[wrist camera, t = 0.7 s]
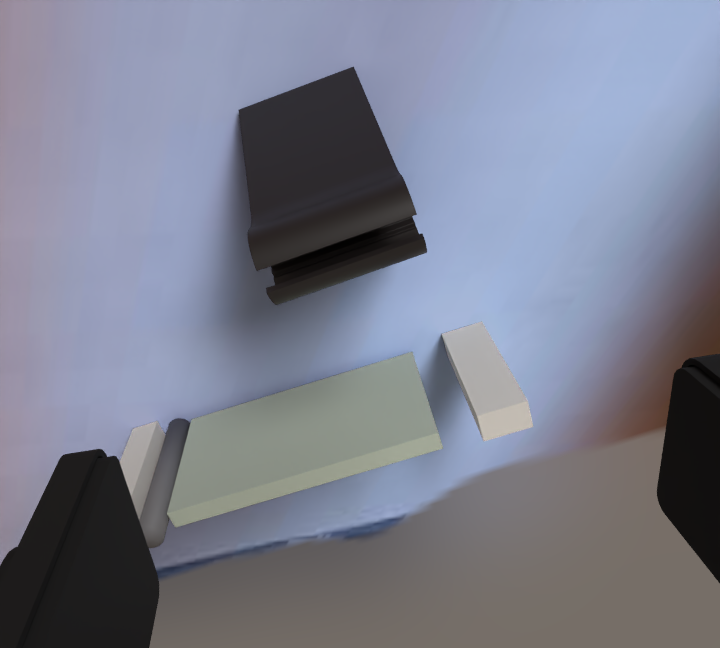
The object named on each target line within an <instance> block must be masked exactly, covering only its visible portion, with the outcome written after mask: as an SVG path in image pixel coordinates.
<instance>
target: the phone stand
mask: <svg viewBox="0 0 720 648" xmlns="http://www.w3.org/2000/svg"><path fill="white" fill-rule="evenodd" d="M239 117H240V126H241V134H242V142H243V151H244V159H245V167H246V176H247V184H248V192H249V201H250V209H251V227H250V229H249V230H248V243H249V248H250V252H251V255H252V259H253V262H254V265H255V268H256V270H257V271H258V270H261V269H264V268H267V267H270V266H271V268H272V274H273V276H274V282H275V285H274V286H271V287H268V288H266V290H267V294H268V296H269V298H270V299H271V301H272V302H273V303H274V304H275V305H278V304H281V303H284V302H287V301H290V300H293V299H295V298H298V297H301V296H304V295H307V294H310V293H313V292H316V291H318V290H321V289H324V288H327V287H330V286H333V285H336V284H338V283H341V282H344V281H347V280H350V279H353V278H356V277H358V276H361V275H364V274H367V273H370V272H373V271H376V270H379V269H381V268H384V267H387V266H390V265H393V264H396V263H399V262H401V261H404V260H407V259H410V258H413V257H416V256H419V255H421V254H424V253H427V248H426V244H425V240H424V237H423V234H419V233H418V230H417V228H416V226H415V222H414V220H413V218H412V216H414V215H416V211H415V208H414V205H413V202H412V199H411V196H410V194H409V191H408V189H407V186H406V184H405V181H404V179H403V177H402V175H401V174H400V173H399V171H398V170H397V167H396V165H395V163H394V161H393V158H392V156H391V154H390V151H389V149H388V147H387V144H386V142H385V139H384V137H383V135H382V132H381V130H380V128H379V125H378V123H377V121H376V118H375V116H374V114H373V111H372V109H371V107H370V104H369V102H368V99H367V97H366V95H365V92H364V90H363V88H362V85H361V83H360V81H359V78H358V76H357V74H356V71H355V69H354V67H351V68H349V69H346V70H343V71H341V72H338V73H335V74H333V75H330V76H327V77H325V78H322V79H319V80H317V81H314V82H311V83H309V84H306V85H304V86H301V87H298V88H296V89H293V90H290V91H288V92H285V93H282V94H280V95H277V96H274V97H272V98H269V99H266V100H264V101H261V102H258V103H256V104H253V105H250V106H248V107H245V108H242V109H240V110H239Z"/></svg>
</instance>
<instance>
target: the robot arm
mask: <svg viewBox="0 0 720 648" xmlns="http://www.w3.org/2000/svg"><path fill="white" fill-rule="evenodd" d="M657 497H658V501H659V504H660V506H661V509H662V510H663V512H664V513H665V515H666V516H667V517H668V519H669V520H670V521H671V522H672V524H673V525H674V526H675V527H676V528H677V530H678V531H679V532H680V534H681V535H682V536H683V537H684V539H685V540H686V541H687V543H688V544H689V545H690V546H691V548H692V549H693V550H694V551H695V553H696V554H697V555H698V556H699V557H700V559H701V560H702V561H703V563H704V564H705V565H706V566H707V568H708V569H709V570H710V571H711V573H712V574H713V575H714V577H715V578H716V579H717V580H718V582H719V583H720V354H715V355H709V356H702V357H696V358H689V359H688V360H686V361H685V362H684V363H683V365H682V368H680V369H678V370H677V371H676V372H675V374H674V378H673V385H672V391H671V398H670V405H669V412H668V418H667V425H666V432H665V439H664V446H663V453H662V459H661V466H660V473H659V480H658V487H657ZM158 598H159V581H158V575H157V572H156V569H155V566H154V563H153V560H152V557H151V554H150V551H149V548H148V545H147V542H146V539H145V536H144V533H143V530H142V527H141V524H140V521H139V518H138V515H137V512H136V510H135V507H134V504H133V501H132V498H131V495H130V492H129V489H128V486H127V483H126V480H125V477H124V474H123V471H122V468H121V465H120V462H119V460H118V458H117V457H116V456H110V457H107V455H106V453H105V452H104V451H103V450H101V449H96V450H89V451H83V452H76V453H70V454H65V455H63V456H62V457H61V458H60V460H59V462H58V464H57V466H56V468H55V470H54V472H53V474H52V476H51V478H50V480H49V483H48V485H47V487H46V489H45V491H44V493H43V495H42V497H41V499H40V501H39V503H38V506H37V508H36V510H35V512H34V514H33V516H32V518H31V520H30V522H29V524H28V526H27V528H26V531H25V533H24V535H23V537H22V539H21V541H20V543H19V545H18V547H15V548H14V549H12V550H11V551H9V552H8V554H7V555H6V557H5V558H4V560H3V562H2V564H1V566H0V648H149V645H150V640H151V635H152V630H153V625H154V619H155V614H156V609H157V604H158Z"/></svg>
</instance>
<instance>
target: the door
mask: <svg viewBox="0 0 720 648" xmlns="http://www.w3.org/2000/svg"><path fill="white" fill-rule="evenodd" d="M439 449H443V446H442V443H441V440H440V436H439V433H438V430H437V427H436V424H435V421H434V418H433V415H432V412H431V408H430V405H429V402H428V399H427V396H426V393H425V390H424V387H423V384H422V381H421V378H420V374H419V371H418V368H417V365H416V362H415V359H414V356H413V353H412V352H410V353H406V354H403V355H400V356H397V357H393V358H390V359H387V360H383V361H380V362H377V363H374V364H370V365H367V366H364V367H361V368H357V369H354V370H351V371H348V372H344V373H341V374H338V375H334V376H331V377H328V378H325V379H321V380H318V381H315V382H312V383H308V384H305V385H302V386H299V387H295V388H292V389H289V390H285V391H282V392H279V393H276V394H272V395H269V396H266V397H263V398H259V399H256V400H253V401H250V402H246V403H243V404H240V405H236V406H233V407H230V408H227V409H223V410H220V411H217V412H214V413H210V414H207V415H204V416H201V417H197V418H194V419H192V420H191V423H189V422H188V421H187V420H185V419H181V418H178V419H174V420H172V421H171V422H170V424H169V427H168V430H167V433H166V436H165V439H164V443H163V446H162V449H161V452H160V455H159V459H158V462H157V465H156V468H155V471H154V475H153V478H152V481H151V484H150V487H149V491H148V494H147V497H146V500H145V503H144V507H143V510H142V513H141V516H140V519H139V521H140V524H141V527H142V530H143V533H144V536H145V539H146V542H147V545H148V548H154V547H157V546H159V545H161V544H162V543H163V541H164V537H165V533H166V529H167V525H168V521H169V518H170V519H171V521H172V523H173V524H174V526H175V528H176V527H179V526H183V525H186V524H189V523H193V522H196V521H200V520H203V519H206V518H210V517H213V516H216V515H220V514H223V513H227V512H230V511H233V510H237V509H240V508H243V507H247V506H250V505H254V504H257V503H260V502H264V501H267V500H270V499H274V498H277V497H281V496H284V495H287V494H291V493H294V492H298V491H301V490H304V489H308V488H311V487H314V486H318V485H321V484H325V483H328V482H331V481H335V480H338V479H341V478H345V477H348V476H352V475H355V474H358V473H362V472H365V471H369V470H372V469H375V468H379V467H382V466H385V465H389V464H392V463H396V462H399V461H402V460H406V459H409V458H412V457H416V456H419V455H423V454H426V453H429V452H433V451H436V450H439Z"/></svg>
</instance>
